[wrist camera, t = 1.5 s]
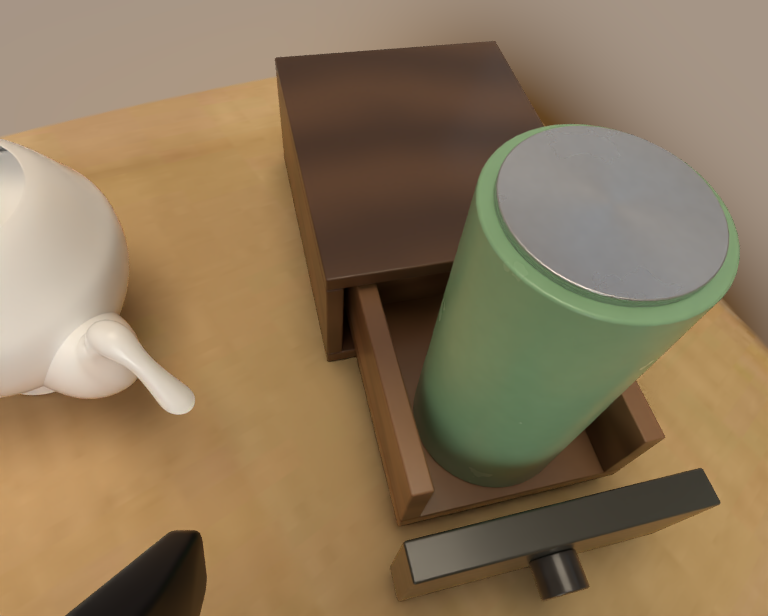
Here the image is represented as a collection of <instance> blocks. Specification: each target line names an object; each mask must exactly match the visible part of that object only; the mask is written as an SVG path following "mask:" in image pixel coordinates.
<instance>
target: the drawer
mask: <svg viewBox="0 0 768 616" xmlns="http://www.w3.org/2000/svg"><path fill="white" fill-rule="evenodd" d="M450 272H451V271H450ZM450 272H443V273H437V274H430V275H424V276H418V277H411V278H405V279H398V280H392V281H386V282H379V283H373V284H366V285H360V286H354V287H347V288H345V298H344V306H345V310H346V314H347V319H348V323H349V327H350V331H351V335H352V339H353V343H354V347H355V351H356V356H357V360H358V364H359V368H360V372H361V376H362V380H363V384H364V389H365V393H366V397H367V401H368V405H369V409H370V413H371V417H372V421H373V426H374V430H375V434H376V438H377V442H378V446H379V450H380V454H381V458H382V463H383V467H384V471H385V475H386V479H387V483H388V487H389V491H390V496H391V500H392V504H393V508H394V512H395V516H396V520H397V524H398V526H402V525H406V524H410V523H414V522H418V521H422V520H426V519H430V518H435V517H439V516H443V515H447V514H451V513H455V512H459V511H463V510H468V509H472V508H476V507H480V506H484V505H488V504H492V503H497V502H501V501H505V500H509V499H513V498H517V497H521V496H525V495H530V494H534V493H538V492H542V491H546V490H550V489H554V488H558V487H563V486H567V485H571V484H575V483H579V482H583V481H587V480H591V479H596V478H600V477H604V476H608V475H612V474H614V473H615V472H617V471H618V470H620V469H621V468H623V467H624V466H625V465H627V464H628V463H630V462H631V461H633V460H634V459H635V458H637V457H638V456H640V455H641V454H643V453H644V452H645V451H647V450H648V449H650V448H651V447H653V446H654V445H655V444H657V443H658V442H660V441H661V440H663V439H664V438H665V435H664V434H663V432H662V430H661V428H660V426H659V424H658V422H657V420H656V418H655V416H654V414H653V412H652V410H651V409H650V407H649V405H648V403H647V401H646V399H645V397H644V395H643V393H642V391H641V389H640V387H639V385H638V383H637V382H636V381H635V382H634V383H633V384H632V385H631V386H630V387H629V388H627V389H626V390H625V391H624V392H623V393H622V394H621V395H620V396H619V397H618V398H617V399H616V400H615V401H614V402H613V403H612V404H611V405H610V406H609V407H608V408H607V409H606V410H604V411H603V412H602V413H601V414H600V415H599V416H598V417H597V418H596V419H595V420H594V421H593V422H592V423H591V424H590V425H589V426H588V427H587V428H586V429H585V430H584V431H582V432H581V433H580V434H579V435H578V436H577V437H576V438H575V439H574V440H573V441H572V442H571V443H570V444H569V445H568V446H567V447H566V448H565V449H564V450H563V451H562V452H561V453H559V454H558V455H557V456H556V457H555V458H554V459H553V460H552V461H551V462H550V463H549V464H548V465H547V466H546V467H545V468H544V469H543V470H542V471H541V472H540V473H538V474H537V475H535V476H534V477H533V478H531V479H529V480H527V481H525V482H523V483H520V484H517V485H514V486H508V487H485V486H480V485H475V484H472V483H469V482H467V481H464V480H462V479H460V478H458V477H456V476H454V475H452V474H451V473H450V472H448V471H447V470H445V469H444V468H443V467H442V466H441V465H440V464H438V463H437V462H436V461H435V460H434V458H433V457H432V456H431V455H430V454H429V452H428V451H427V449H426V448H425V446H424V445H423V443H422V441H421V439H420V436H419V432H418V429H417V425H416V422H415V418H414V412H413V404H414V396H415V391H416V388H417V384H418V381H419V377H420V374H421V371H422V367H423V364H424V360H425V357H426V354H427V350H428V347H429V344H430V340H431V337H432V333H433V330H434V327H435V323H436V320H437V316H438V313H439V310H440V306H441V303H442V299H443V296H444V293H445V289H446V286H447V282H448V279H449V276H450ZM719 504H720V500H719V498H718V497H717V495H716V493H715V491H714V489H713V487H712V485H711V484H710V482H709V480H708V478H707V476H706V474H705V472H704V471H703V469H702V468H698V469H694V470H690V471H686V472H682V473H678V474H674V475H670V476H665V477H661V478H657V479H653V480H649V481H645V482H641V483H637V484H633V485H629V486H625V487H621V488H617V489H613V490H609V491H605V492H601V493H597V494H593V495H589V496H585V497H581V498H577V499H573V500H569V501H565V502H561V503H557V504H553V505H549V506H544V507H540V508H536V509H532V510H528V511H524V512H520V513H516V514H512V515H508V516H504V517H500V518H496V519H492V520H488V521H484V522H480V523H476V524H472V525H468V526H464V527H460V528H456V529H452V530H448V531H444V532H440V533H436V534H432V535H427V536H423V537H419V538H415V539H411V540H407V541H405V542H403V544H402V546H401V548H400V550H399V552H398V553H397V555H396V557H395V559H394V561H393V562H392V564H391V566H390V569H391V574H392V578H393V582H394V587H395V591H396V595H397V599H398V601H403V600H406V599H410V598H414V597H418V596H421V595H425V594H429V593H432V592H436V591H440V590H444V589H447V588H451V587H455V586H459V585H462V584H466V583H470V582H473V581H477V580H481V579H485V578H488V577H492V576H496V575H499V574H503V573H507V572H511V571H514V570H518V569H522V568H526V567H529V566H530V568H531V571H532V574H533V577H534V580H535V583H536V585H537V588H538V591H539V594H540V597H541V600H542V601H545V600H549V599H553V598H556V597H560V596H563V595H567V594H570V593H574V592H577V591H580V590H584V589H587V588H589V584H588V581H587V578H586V576H585V573H584V571H583V568H582V566H581V563H580V561H579V558H578V555H577V554H578V553H581V552H585V551H589V550H593V549H596V548H600V547H604V546H608V545H611V544H615V543H619V542H622V541H626V540H630V539H634V538H637V537H641V536H645V535H649V534H652V533H654V532H657V531H659V530H661V529H664V528H666V527H668V526H671V525H673V524H675V523H678V522H680V521H682V520H685V519H687V518H689V517H692V516H694V515H696V514H699V513H701V512H703V511H706V510H708V509H710V508H713V507H715V506H717V505H719Z"/></svg>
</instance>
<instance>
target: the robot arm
mask: <svg viewBox="0 0 768 616" xmlns="http://www.w3.org/2000/svg"><path fill="white" fill-rule="evenodd" d="M206 582H207V575H206V566H205V558H204V550H203V542H202V537H201V535H200V533H199V532H198V531H195V530H175V531H171V532H169V533H168V534H166V535H165V536H164V537H162V538H161V539H160V540H159V541H157V542H156V543H155V544H154V545H152V546H151V547H150V548H149V549H148V550H146V551H145V552H144V553H143V554H141V555H140V556H139V557H138V558H136V559H135V560H134V561H133V562H131V563H130V564H129V565H128V566H126V567H125V568H124V569H123V570H121V571H120V572H119V573H118V574H116V575H115V576H114V577H113V578H111V579H110V580H109V581H108V582H106V583H105V584H104V585H103V586H102V587H100V588H99V589H98V590H97V591H95V592H94V593H93V594H92V595H90V596H89V597H88V598H87V599H85V600H84V601H83V602H82V603H80V604H79V605H78V606H77V607H75V608H74V609H73V610H72V611H70V612H69V613H68V614H67V615H65V616H200V612H201V608H202V604H203V599H204V595H205V590H206Z"/></svg>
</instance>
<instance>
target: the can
mask: <svg viewBox="0 0 768 616" xmlns="http://www.w3.org/2000/svg"><path fill="white" fill-rule="evenodd" d="M739 255H740V246H739V239H738V233H737V231H736V227H735V224H734V222H733V219H732V217H731V215H730V213H729V211H728V209H727V207H726V206H725V204H724V203H723V201H722V199H721V198H720V197H719V195H718V194H717V193H716V192H715V190H714V189H713V188H712V187H711V185H710V184H709V183H708V182H707V181H706V180H705V179H704V178H703V177H702V176H701V175H700V174H699V173H698V172H696V171H695V170H694V169H692V168H691V167H690V166H689V165H688V164H687V163H685V162H684V161H682V160H681V159H679V158H678V157H676V156H675V155H673V154H672V153H670V152H668V151H667V150H665V149H663V148H661V147H659V146H658V145H655V144H654V143H651V142H649V141H647V140H645V139H642V138H640V137H637V136H634V135H632V134H629V133H625V132H622V131H618V130H615V129H610V128H605V127H600V126H592V125H583V124H562V125H552V126H546V127H540V128H537V129H533V130H529V131H527V132H524V133H522V134H520V135H517V136H515V137H514V138H512V139H510V140H509V141H507V142H506V143H504V144H503V145H502V146H501V147H499V148H498V149H497V150H496V151H495V152H494V153H493V154H492V155H491V156H490V158H489V159H488V160H487V162H486V163H485V165H484V167H483V168H482V170H481V173H480V175H479V178H478V181H477V184H476V187H475V191H474V194H473V198H472V201H471V204H470V208H469V211H468V215H467V218H466V221H465V225H464V228H463V232H462V235H461V238H460V242H459V245H458V248H457V252H456V255H455V259H454V262H453V265H452V269H451V272H450V276H449V279H448V282H447V286H446V289H445V293H444V296H443V299H442V303H441V306H440V310H439V313H438V316H437V320H436V323H435V327H434V330H433V333H432V337H431V340H430V344H429V347H428V350H427V354H426V357H425V360H424V364H423V367H422V371H421V374H420V377H419V381H418V384H417V388H416V391H415V396H414V404H413V412H414V418H415V422H416V425H417V429H418V432H419V436H420V439H421V441H422V443H423V445H424V446H425V448H426V449H427V451H428V452H429V454H430V455H431V456H432V457H433V458H434V460H435V461H436V462H437V463H438V464H440V465H441V466H442V467H443V468H444V469H445V470H447V471H448V472H450V473H451V474H452V475H454V476H456V477H458V478H460V479H462V480H464V481H467V482H469V483H472V484H475V485H480V486H485V487H508V486H514V485H517V484H520V483H523V482H525V481H527V480H529V479H531V478H533V477H534V476H535V475H537V474H538V473H540V472H541V471H542V470H543V469H544V468H545V467H546V466H547V465H548V464H549V463H550V462H551V461H552V460H553V459H554V458H555V457H556V456H557V455H558V454H559V453H561V452H562V451H563V450H564V449H565V448H566V447H567V446H568V445H569V444H570V443H571V442H572V441H573V440H574V439H575V438H576V437H577V436H578V435H579V434H580V433H581V432H582V431H584V430H585V429H586V428H587V427H588V426H589V425H590V424H591V423H592V422H593V421H594V420H595V419H596V418H597V417H598V416H599V415H600V414H601V413H602V412H603V411H604V410H606V409H607V408H608V407H609V406H610V405H611V404H612V403H613V402H614V401H615V400H616V399H617V398H618V397H619V396H620V395H621V394H622V393H623V392H624V391H625V390H626V389H627V388H629V387H630V386H631V385H632V384H633V383H634V382H635V381H636V380H637V379H638V378H639V377H640V376H641V375H642V374H643V373H644V372H645V371H646V370H647V369H648V368H649V367H651V366H652V365H653V364H654V363H655V362H656V361H657V360H658V359H659V358H660V357H661V356H662V355H663V354H664V353H665V352H666V351H667V350H668V349H669V348H670V347H671V346H672V345H674V344H675V343H676V342H677V341H678V340H679V339H680V338H681V337H682V336H683V335H684V334H685V333H686V332H687V331H688V330H689V329H690V328H691V327H692V326H693V325H694V324H696V323H697V322H698V321H699V320H700V319H701V318H702V317H703V316H704V315H705V314H706V313H707V312H708V311H709V310H710V309H711V308H712V307H713V306H714V305H715V304H716V303H717V302H719V301H720V300H721V299H722V298H723V297H724V295H725V294H726V293H727V291H728V290H729V288H730V287H731V285H732V283H733V280H734V278H735V276H736V274H737V269H738V264H739V259H740V256H739Z"/></svg>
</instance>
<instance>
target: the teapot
mask: <svg viewBox="0 0 768 616" xmlns="http://www.w3.org/2000/svg"><path fill="white" fill-rule="evenodd" d="M128 281H129V252H128V246H127V242H126V238H125V234H124V231H123V228H122V226H121V223H120V221H119V219H118V216H117V214H116V213H115V211H114V209H113V207H112V205H111V204H110V202H109V201H108V200H107V198H106V197H105V195H104V194H103V193H102V192H101V191H100V189H99V188H98V187H97V186H96V185H95V184H93V183H92V182H91V181H90V180H89V179H88V178H86V177H85V176H84V175H82V174H81V173H79V172H78V171H76V170H74V169H72V168H70V167H69V166H66V165H64V164H62V163H60V162H57V161H55V160H53V159H51V158H49V157H47V156H45V155H43V154H41V153H39V152H37V151H34V150H32V149H30V148H27V147H25V146H22V145H19V144H17V143H14V142H10V141H7V140H4V139H0V398H2V397H8V396H13V395H17V394H25V395H42V394H48V393H52V392H58V393H61V394H64V395H67V396H70V397H76V398H81V399H97V398H104V397H108V396H112V395H115V394H117V393H119V392H121V391H123V390H125V389H127V388H128V387H130V386H131V385H132V384H133V383H134V382H135V381H136V380H137V379H139V380H140V381H141V382H142V383H143V384H144V385H145V387H146V388H147V389H148V390H149V392H150V393H151V394H152V396H153V397H154V398H155V400H156V401H157V402H158V404H159V405H160V406H161V407H162V408H163V409H164V410H165V411H167V412H169V413H171V414H178V415H180V414H185V413H187V412H189V411H190V410H191V409H192V408H193V407H194V404H195V397H194V394H193V392H192V391H191V389H190V388H189V387H188V386H187V385H185V384H184V383H182V382H181V381H180V380H178V379H177V378H176V377H174V376H173V375H172V374H170V373H169V372H168V371H167V370H165V369H164V368H163V367H162V366H160V365H159V364H158V363H157V362H156V361H155V360H154V359H153V358H152V357H151V356H150V355H149V354H148V353H147V352H146V350H145V349H144V348H143V346H142V345H141V344H140V342H139V340H138V337H137V335H136V334H135V332H134V330H133V329H132V327H131V326H130V325H129V324H128V323H127V322H126V321H125V320H124V319H123V318H122V317H121V316H120V313H121V310H122V308H123V305H124V301H125V298H126V293H127V288H128Z"/></svg>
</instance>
